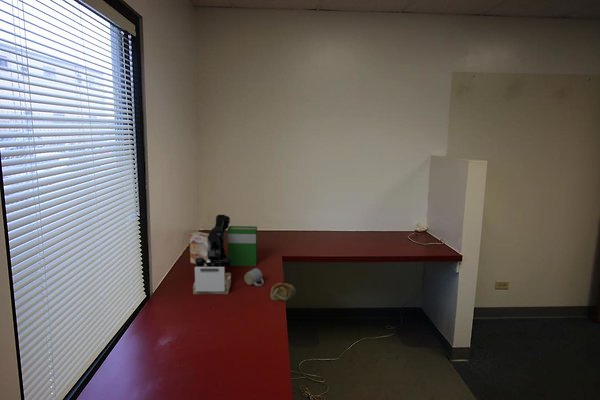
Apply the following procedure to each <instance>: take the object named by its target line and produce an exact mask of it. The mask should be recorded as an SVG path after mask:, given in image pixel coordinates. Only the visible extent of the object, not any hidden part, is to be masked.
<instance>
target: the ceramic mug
mask: <svg viewBox="0 0 600 400" xmlns="http://www.w3.org/2000/svg"><path fill="white" fill-rule="evenodd" d="M243 277H244V282H245V283H246V284H247V285H248V286H252V285H254V286H256V287H263V286H264V283H265V282H264V279H263V273H262V271H261V270H260V269H259V268H255V267H254V268H253V269H251V270H249V271H247V272H246V273H245V274H244V275H243ZM258 282H261V283H258Z"/></svg>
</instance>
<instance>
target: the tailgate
mask: <svg viewBox="0 0 600 400" xmlns="http://www.w3.org/2000/svg"><path fill="white" fill-rule="evenodd" d="M225 267H226V266H224V267H214V266H212V267H206V266H195V267H194V283H195V291H225V271H226V270H225Z"/></svg>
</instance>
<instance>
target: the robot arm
mask: <svg viewBox="0 0 600 400" xmlns="http://www.w3.org/2000/svg"><path fill="white" fill-rule="evenodd" d="M229 224H231V218H230V216H228V215H225V214H217V215H216V216H215V226H214V227H211V228H212V229H211V230H210V232H209V233H208V234H209V235H208V241H209V244H210V250H209V251H208V254H207V257H208V259H209V260H204V258H196V260H195V263H196V264H195V265H196V267H206V266H207V267H232V266H231V259H230V258H228V255H227V254H226V250H225V248H224V245H225V238H226V230H228V228H229V226H230V225H229ZM204 264H206V266H204ZM212 264H213V265H212ZM225 273H228V272H227V271H226V270H225Z"/></svg>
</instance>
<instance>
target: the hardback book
mask: <svg viewBox="0 0 600 400" xmlns="http://www.w3.org/2000/svg"><path fill="white" fill-rule="evenodd" d="M227 258H230V259H231V266H230V267H232V266H235V267H236V266H238V267H241V266H242V267H245V266H246V267H247V266H248V267H256V266H257V263H258V226H253V225H252V226H248V225H247V226H245V225H244V226H242V225H229V227H228V228H227Z"/></svg>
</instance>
